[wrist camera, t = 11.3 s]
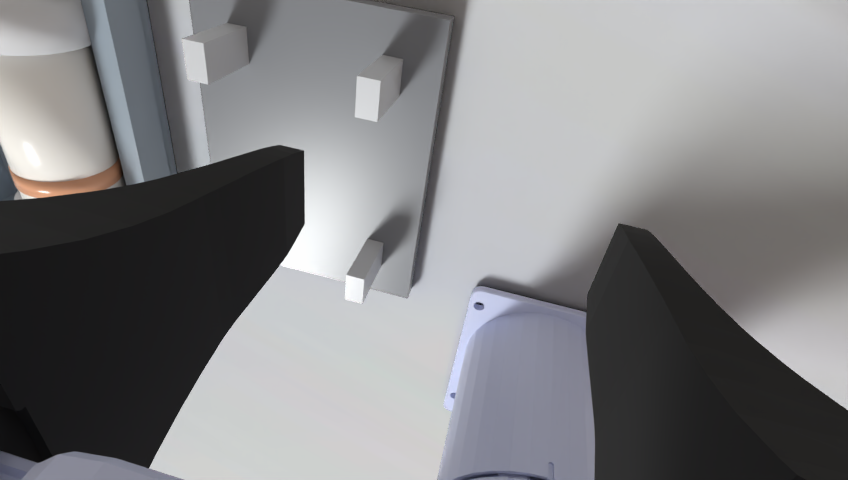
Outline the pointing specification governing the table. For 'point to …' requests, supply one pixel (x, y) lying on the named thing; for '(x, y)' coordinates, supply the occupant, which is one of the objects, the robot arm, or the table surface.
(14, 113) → the fuse
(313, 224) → the fuse holder
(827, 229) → the table surface
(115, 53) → the tray
